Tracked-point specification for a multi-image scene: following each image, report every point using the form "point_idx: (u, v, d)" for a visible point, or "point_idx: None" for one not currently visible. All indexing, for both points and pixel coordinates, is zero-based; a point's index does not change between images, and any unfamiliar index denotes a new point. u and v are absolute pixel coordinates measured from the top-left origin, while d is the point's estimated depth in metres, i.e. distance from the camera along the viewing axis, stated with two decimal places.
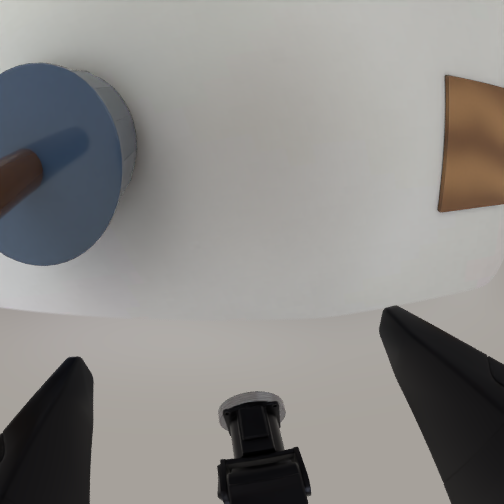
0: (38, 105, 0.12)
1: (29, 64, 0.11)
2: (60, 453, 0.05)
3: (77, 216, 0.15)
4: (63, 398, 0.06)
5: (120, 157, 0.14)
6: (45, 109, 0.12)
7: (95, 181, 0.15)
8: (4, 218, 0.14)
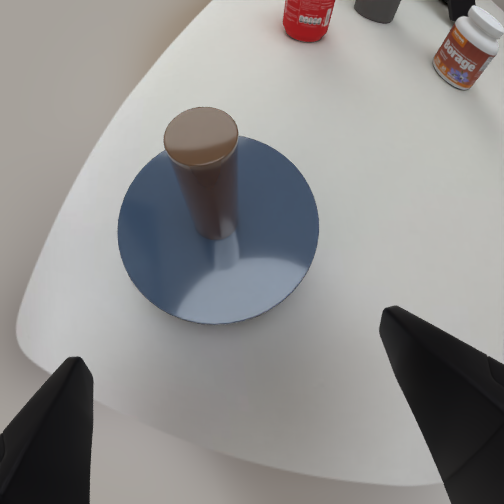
0: (254, 173, 0.19)
1: (255, 141, 0.20)
2: (60, 453, 0.05)
3: (254, 281, 0.17)
4: (63, 398, 0.06)
5: (316, 243, 0.18)
6: (260, 179, 0.19)
7: (286, 255, 0.18)
8: (164, 251, 0.18)
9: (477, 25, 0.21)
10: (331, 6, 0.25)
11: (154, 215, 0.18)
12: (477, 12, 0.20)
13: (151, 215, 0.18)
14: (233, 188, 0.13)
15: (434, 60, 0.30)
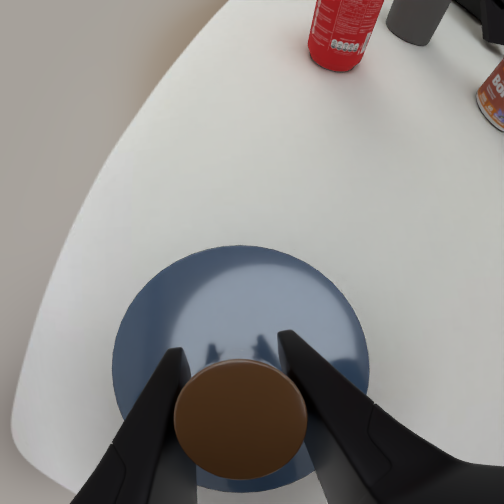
0: (291, 310, 0.14)
1: (291, 257, 0.15)
2: (180, 456, 0.06)
3: None
4: (178, 393, 0.07)
5: None
6: (298, 318, 0.14)
7: None
8: None
9: None
10: (371, 29, 0.20)
11: None
12: None
13: (154, 368, 0.13)
14: None
15: (478, 96, 0.25)
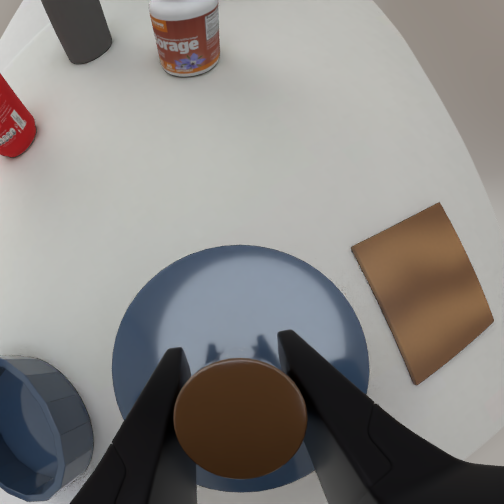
0: (290, 309, 0.14)
1: (291, 256, 0.15)
2: (179, 455, 0.06)
3: None
4: (177, 393, 0.07)
5: None
6: (298, 318, 0.14)
7: None
8: None
9: None
10: (12, 109, 0.21)
11: None
12: None
13: (154, 368, 0.13)
14: None
15: (160, 61, 0.27)
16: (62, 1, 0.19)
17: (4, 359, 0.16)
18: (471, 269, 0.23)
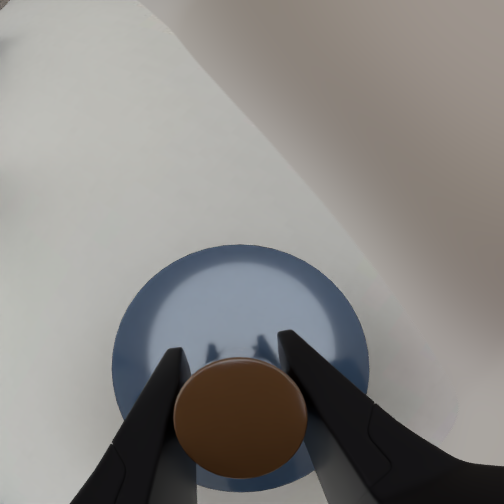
0: (290, 309, 0.14)
1: (291, 256, 0.15)
2: (179, 455, 0.06)
3: None
4: (177, 393, 0.07)
5: None
6: (298, 318, 0.14)
7: None
8: None
9: None
10: None
11: None
12: None
13: (154, 368, 0.13)
14: None
15: None
16: None
17: None
18: None
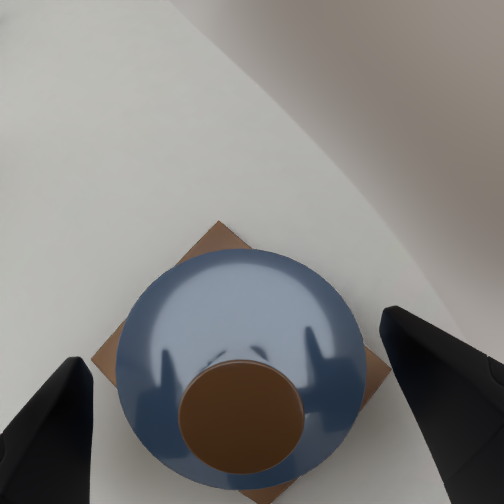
0: (290, 311, 0.14)
1: (290, 260, 0.15)
2: (60, 453, 0.05)
3: None
4: (63, 398, 0.06)
5: (362, 399, 0.13)
6: (297, 320, 0.14)
7: (326, 417, 0.13)
8: None
9: None
10: None
11: (161, 369, 0.13)
12: None
13: (157, 369, 0.13)
14: None
15: None
16: None
17: None
18: None
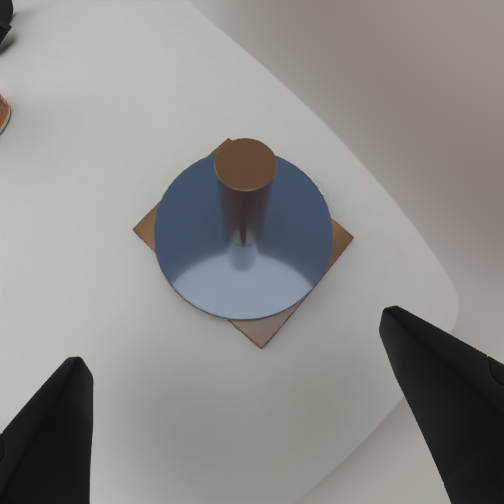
0: (276, 186, 0.22)
1: (276, 156, 0.22)
2: (60, 453, 0.05)
3: (277, 281, 0.20)
4: (63, 398, 0.06)
5: (330, 249, 0.21)
6: (281, 191, 0.21)
7: (305, 259, 0.20)
8: (198, 256, 0.20)
9: None
10: None
11: (187, 223, 0.21)
12: None
13: (184, 223, 0.21)
14: (267, 205, 0.16)
15: None
16: None
17: None
18: None
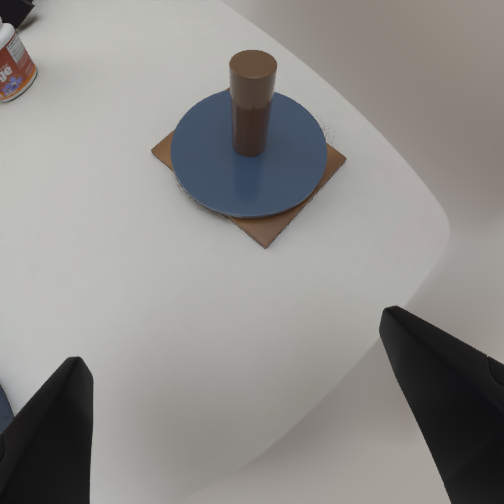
0: (277, 114, 0.24)
1: (277, 93, 0.24)
2: (60, 453, 0.05)
3: (279, 185, 0.22)
4: (63, 398, 0.06)
5: (326, 161, 0.23)
6: (281, 118, 0.24)
7: (303, 168, 0.23)
8: (209, 164, 0.22)
9: None
10: None
11: (200, 140, 0.23)
12: None
13: (198, 140, 0.23)
14: (270, 105, 0.18)
15: None
16: None
17: None
18: None
